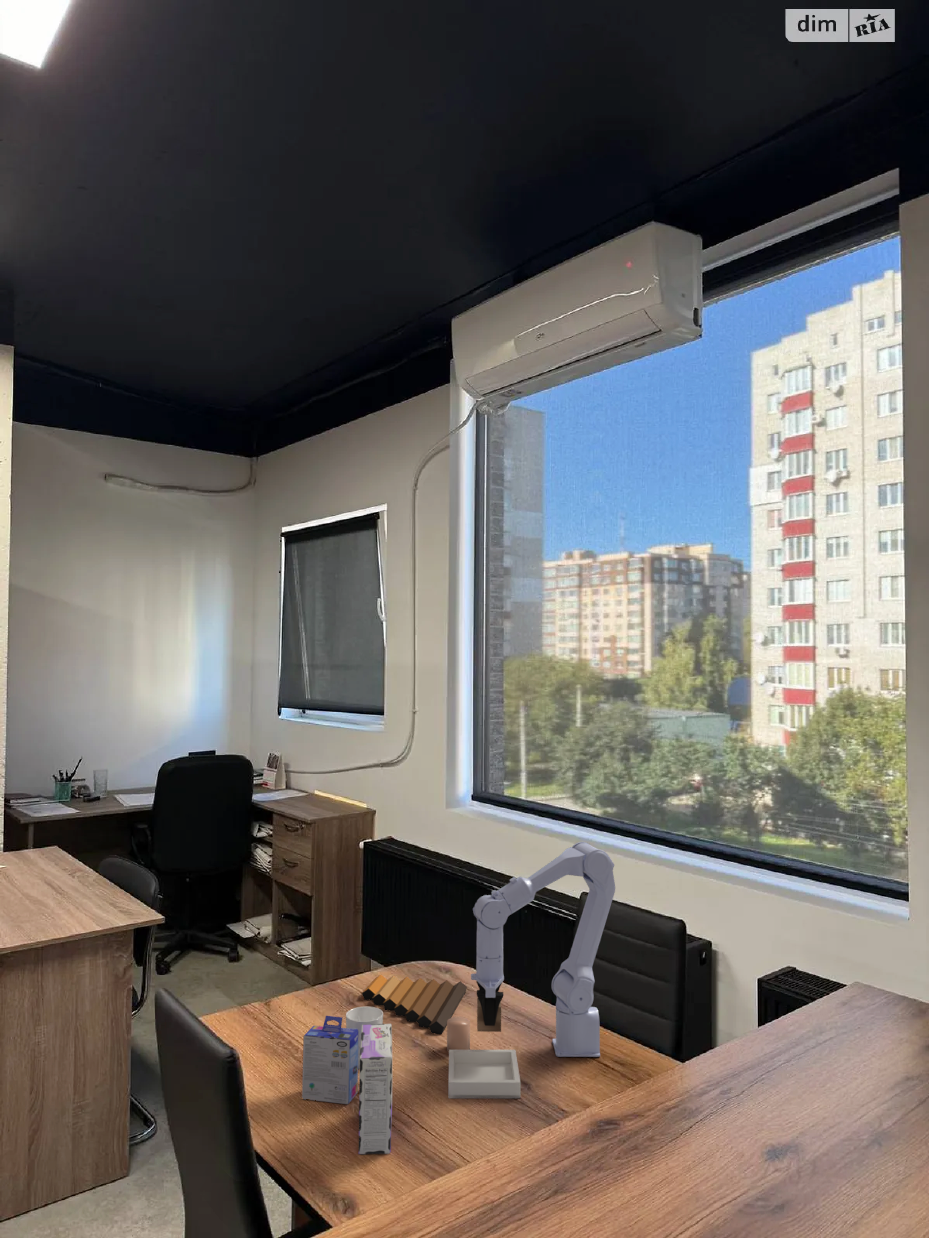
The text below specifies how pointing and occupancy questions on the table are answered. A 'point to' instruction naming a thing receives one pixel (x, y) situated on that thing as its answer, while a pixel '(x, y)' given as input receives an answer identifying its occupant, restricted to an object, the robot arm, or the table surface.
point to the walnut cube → (480, 1020)
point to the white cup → (363, 1020)
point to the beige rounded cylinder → (458, 1033)
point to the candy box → (375, 1089)
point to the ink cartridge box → (330, 1063)
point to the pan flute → (417, 1000)
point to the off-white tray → (483, 1074)
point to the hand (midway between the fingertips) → (489, 1019)
